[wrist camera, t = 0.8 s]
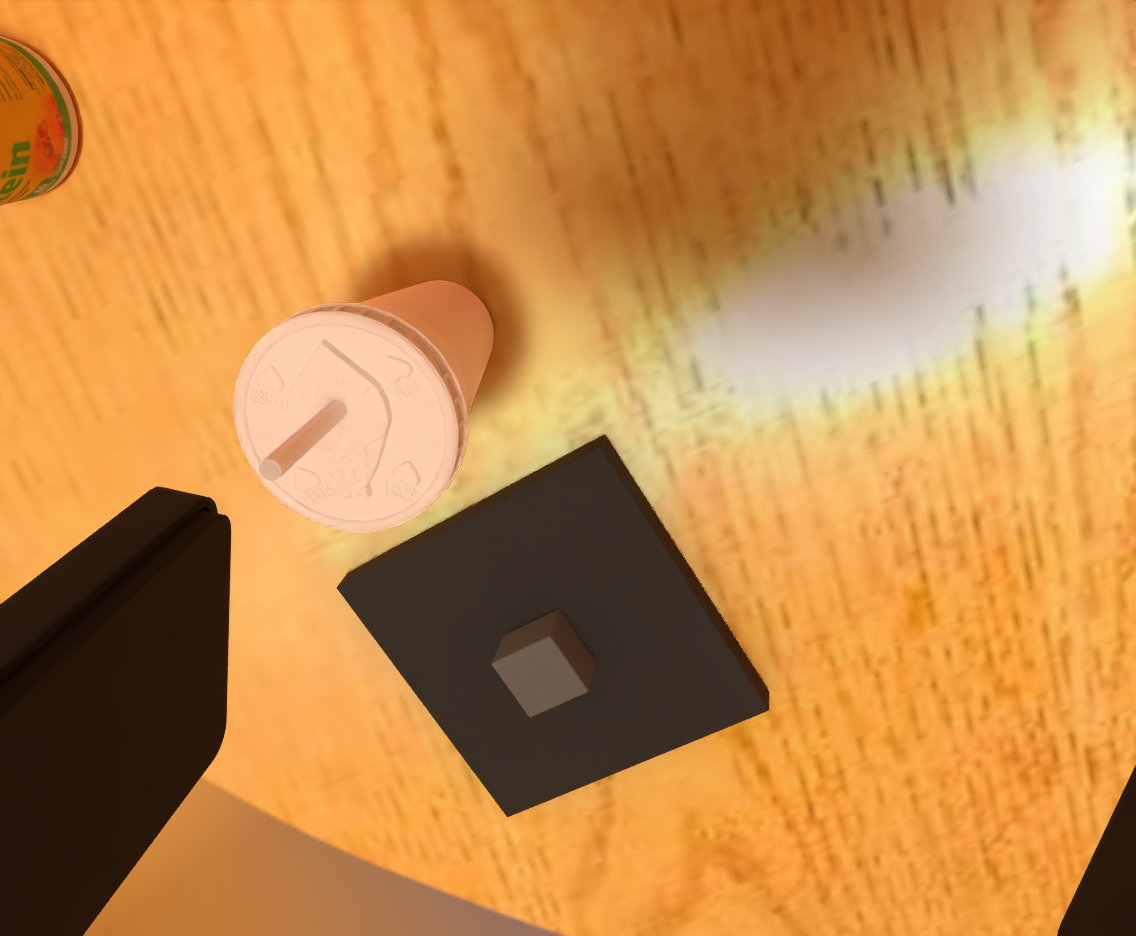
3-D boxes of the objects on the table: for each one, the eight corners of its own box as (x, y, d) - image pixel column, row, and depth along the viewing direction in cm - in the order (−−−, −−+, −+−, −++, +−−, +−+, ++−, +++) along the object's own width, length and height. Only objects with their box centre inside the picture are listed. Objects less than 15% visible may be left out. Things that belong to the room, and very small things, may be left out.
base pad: (605, 434, 37) (591, 468, 35) (769, 692, 40) (770, 743, 37) (347, 572, 42) (315, 614, 39) (513, 798, 44) (496, 852, 42)
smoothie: (517, 230, 35) (379, 346, 22) (544, 412, 38) (433, 610, 25) (338, 250, 37) (111, 370, 24) (374, 424, 39) (185, 619, 26)
